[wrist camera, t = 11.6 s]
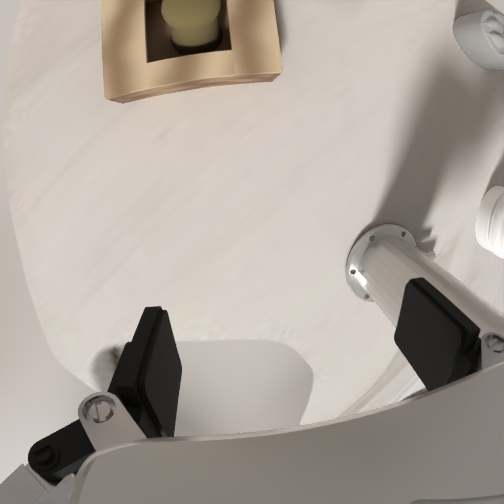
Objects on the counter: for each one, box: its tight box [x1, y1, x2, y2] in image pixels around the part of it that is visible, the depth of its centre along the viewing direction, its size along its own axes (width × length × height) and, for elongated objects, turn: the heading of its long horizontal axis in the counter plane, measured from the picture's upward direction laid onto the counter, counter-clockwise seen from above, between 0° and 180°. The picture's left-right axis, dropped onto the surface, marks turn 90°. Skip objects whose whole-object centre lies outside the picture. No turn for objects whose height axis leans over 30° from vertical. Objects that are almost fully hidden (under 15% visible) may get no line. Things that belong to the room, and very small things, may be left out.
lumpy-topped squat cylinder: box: [453, 9, 504, 70], centre depth 24 cm, size 10×13×9 cm
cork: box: [161, 0, 223, 56], centre depth 21 cm, size 6×6×11 cm
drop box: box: [102, 0, 283, 104], centre depth 24 cm, size 18×14×6 cm
